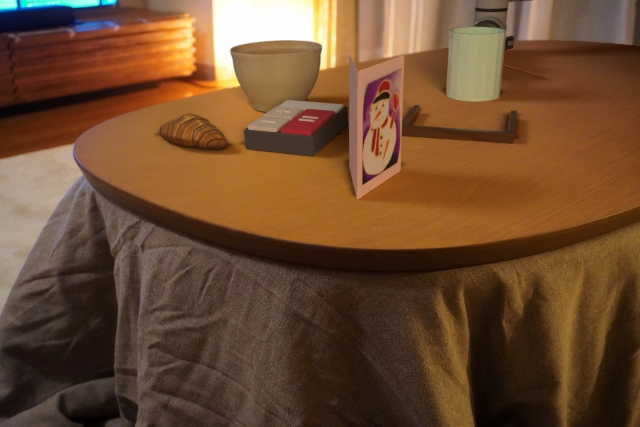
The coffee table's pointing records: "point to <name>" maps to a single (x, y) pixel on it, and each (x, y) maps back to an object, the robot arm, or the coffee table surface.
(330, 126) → the calculator
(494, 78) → the cup
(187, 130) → the croissant
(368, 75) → the greeting card
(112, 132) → the coffee table surface
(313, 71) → the planter bowl
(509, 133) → the bay
